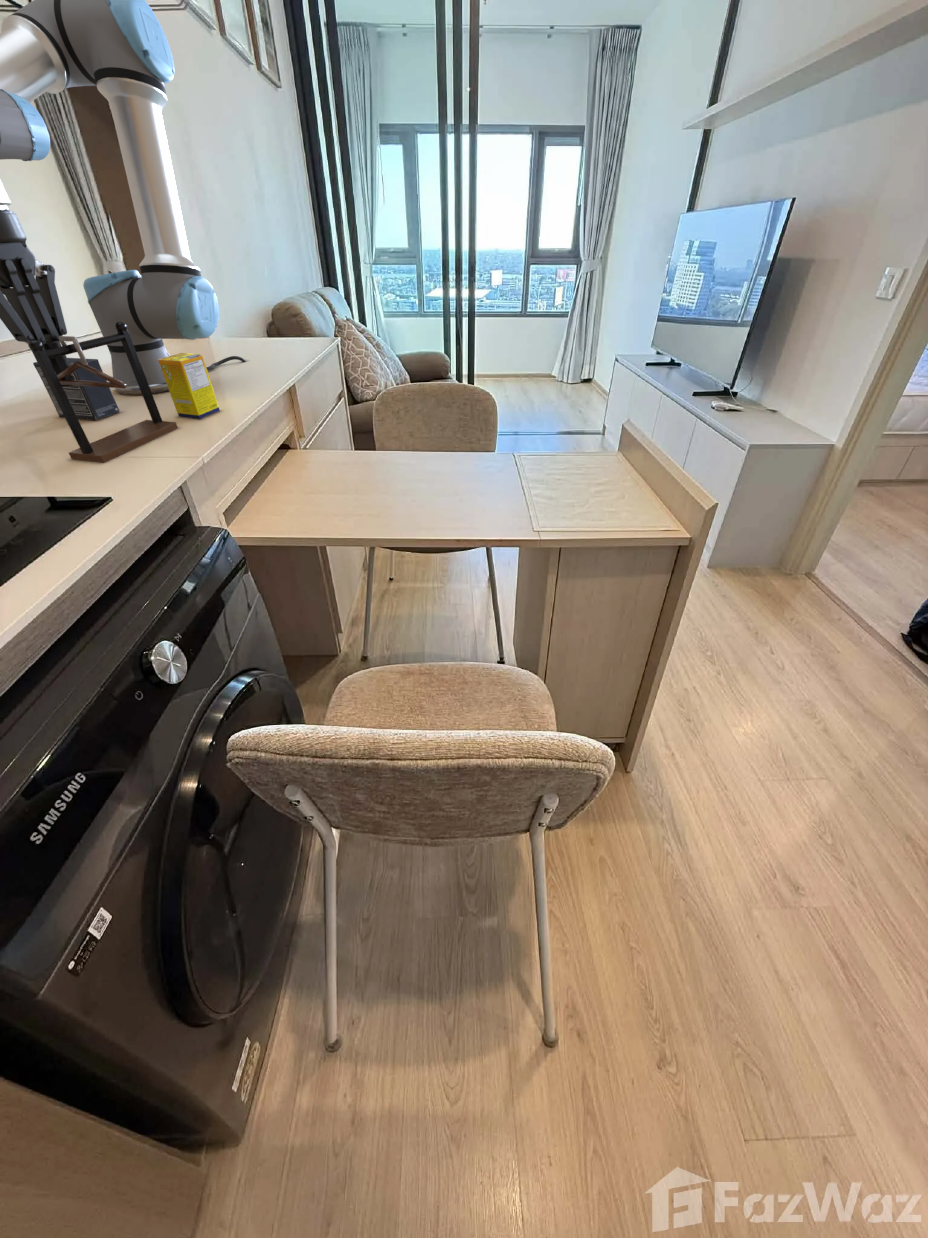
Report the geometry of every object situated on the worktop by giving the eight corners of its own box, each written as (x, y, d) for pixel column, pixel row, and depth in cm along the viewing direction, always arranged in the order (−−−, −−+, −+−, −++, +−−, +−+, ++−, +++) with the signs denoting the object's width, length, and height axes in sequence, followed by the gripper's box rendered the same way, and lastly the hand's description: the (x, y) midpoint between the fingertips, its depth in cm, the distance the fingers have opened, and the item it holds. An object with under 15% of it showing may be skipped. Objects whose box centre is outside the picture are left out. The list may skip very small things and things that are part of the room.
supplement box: (199, 408, 109) (180, 352, 102) (220, 411, 107) (203, 353, 100) (177, 416, 105) (156, 358, 98) (200, 419, 103) (180, 360, 96)
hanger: (55, 383, 87) (31, 334, 82) (128, 387, 83) (107, 336, 79) (51, 384, 86) (26, 335, 81) (124, 389, 82) (103, 338, 78)
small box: (122, 411, 108) (99, 357, 102) (97, 421, 103) (71, 365, 97) (85, 408, 111) (60, 355, 104) (58, 417, 106) (30, 362, 100)
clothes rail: (149, 425, 101) (106, 319, 89) (178, 428, 99) (139, 320, 88) (71, 459, 87) (9, 339, 76) (103, 462, 85) (45, 340, 74)
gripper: (5, 209, 78) (80, 375, 93) (-87, 209, 68) (13, 394, 83) (42, 208, 76) (113, 376, 91) (-46, 207, 67) (49, 396, 81)
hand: (66, 385), depth 87 cm, fingers closed
